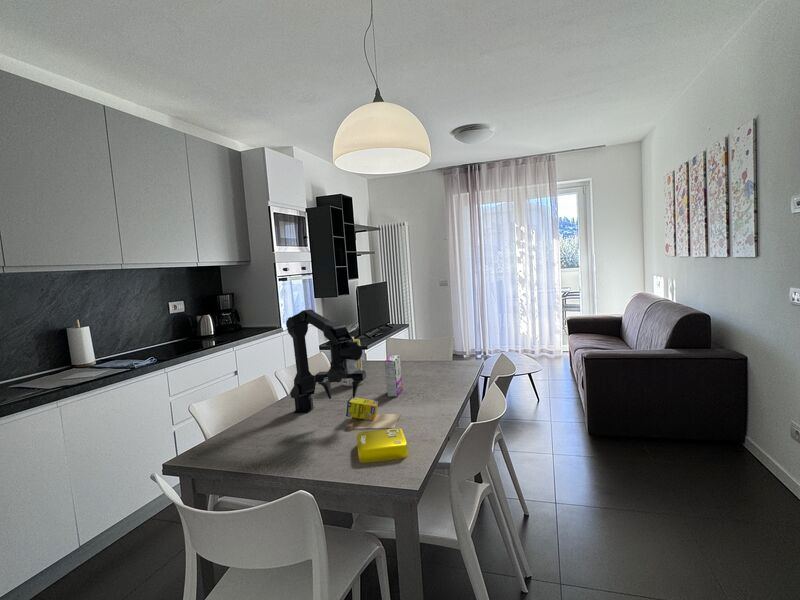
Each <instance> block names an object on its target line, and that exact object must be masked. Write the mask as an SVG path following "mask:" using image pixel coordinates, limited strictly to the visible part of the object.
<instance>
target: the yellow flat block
mask: <svg viewBox="0 0 800 600" xmlns="http://www.w3.org/2000/svg"><path fill="white" fill-rule="evenodd" d="M356 442H357V445H356V446H357V455H358V458H357V459H358V463H359V462H360V463H362V464H368V463H374V462H375V463H376V462H384V461H390V460H392V461H393V460H401V459H405V458H407V457H408V456H409V453H408V452H409V451H408V442H407V439H406V436H405V434H404V431H403V429H402V428H400V427H395V428H393V429H375V430H368V431H360V432H358V433H357V434H356Z"/></svg>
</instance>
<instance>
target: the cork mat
mask: <svg viewBox="0 0 800 600" xmlns="http://www.w3.org/2000/svg"><path fill="white" fill-rule="evenodd" d="M400 418H401V413H393V414H392V413H391V414H389V413H385V414H381V413H379V414H377V416H376V418H375V419H374V421H372V420H366V419H360V418H359V419H358V420H357V422H356V423H355V425H354V426H353V428H352V430H384V429H393V428H397V427H396V426H397V424H398V422H399V419H400Z"/></svg>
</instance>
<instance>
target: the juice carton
mask: <svg viewBox="0 0 800 600" xmlns="http://www.w3.org/2000/svg"><path fill="white" fill-rule="evenodd" d="M352 339H353V341H357V345H359V346H360V347H361V341H360V338H355V336H352ZM362 365H363V363H362V357H361V358H360V359H359V360H357V361H355V360H348V359H347V369H348V373H354V372H355V371H359V370H363V366H362ZM353 381H354V380H352V378H349V379H342V384H343V386H349V387H353V385H352V382H353ZM363 381H364V380H363ZM363 381H361V382H360V383H359V385H358V386H360V385H362V384H363Z"/></svg>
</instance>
